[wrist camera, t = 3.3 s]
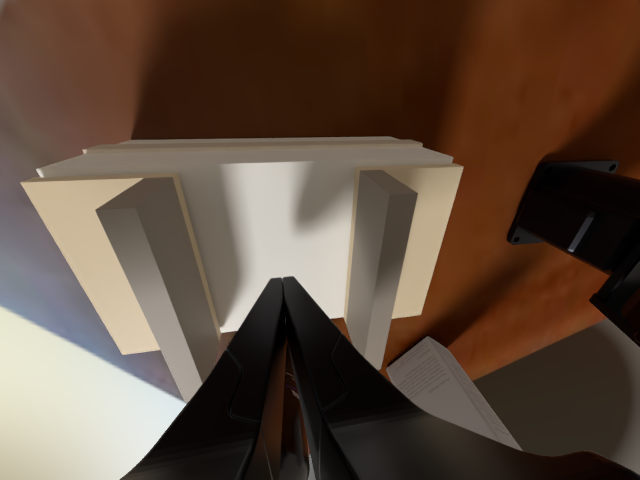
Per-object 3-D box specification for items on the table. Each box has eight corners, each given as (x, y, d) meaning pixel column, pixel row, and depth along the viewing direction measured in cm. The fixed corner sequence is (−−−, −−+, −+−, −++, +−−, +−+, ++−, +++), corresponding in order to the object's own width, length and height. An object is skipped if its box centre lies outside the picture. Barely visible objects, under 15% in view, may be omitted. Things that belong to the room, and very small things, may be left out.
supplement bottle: (313, 351, 23) (347, 549, 13) (269, 390, 25) (269, 591, 15) (250, 324, 20) (231, 555, 10) (205, 371, 22) (151, 606, 12)
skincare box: (407, 377, 29) (484, 537, 18) (382, 366, 27) (454, 537, 16) (449, 346, 27) (562, 501, 17) (427, 331, 25) (538, 497, 15)
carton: (391, 133, 15) (457, 153, 10) (374, 250, 19) (415, 309, 14) (128, 136, 13) (29, 165, 7) (173, 268, 17) (129, 346, 11)
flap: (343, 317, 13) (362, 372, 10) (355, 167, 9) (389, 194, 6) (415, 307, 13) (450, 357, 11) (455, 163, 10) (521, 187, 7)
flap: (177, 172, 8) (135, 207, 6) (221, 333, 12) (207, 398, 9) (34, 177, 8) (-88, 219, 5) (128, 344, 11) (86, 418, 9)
